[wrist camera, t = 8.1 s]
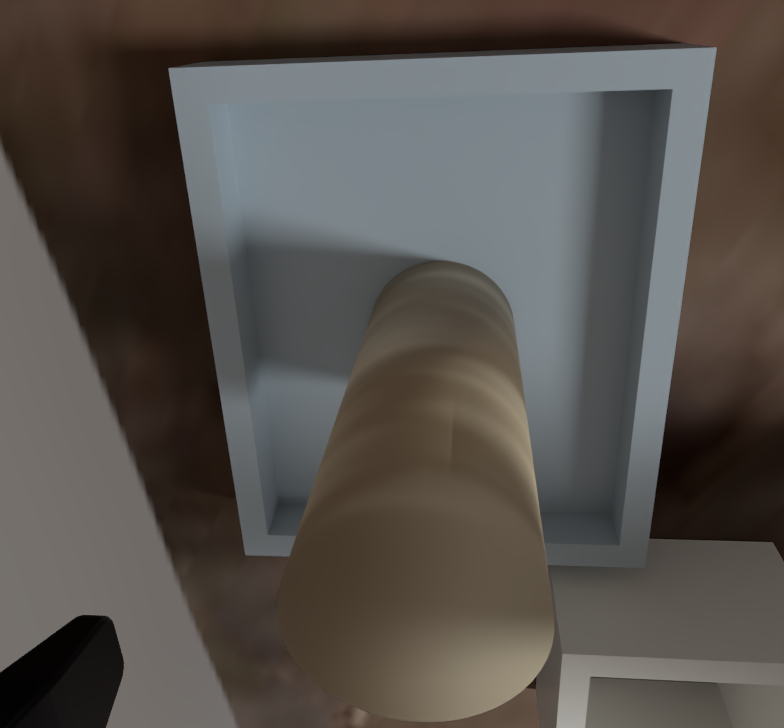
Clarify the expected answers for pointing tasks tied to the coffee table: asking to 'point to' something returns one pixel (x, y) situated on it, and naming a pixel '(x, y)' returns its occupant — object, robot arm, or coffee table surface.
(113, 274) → the coffee table surface
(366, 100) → the slate tray
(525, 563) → the beech dowel
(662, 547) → the white open box
